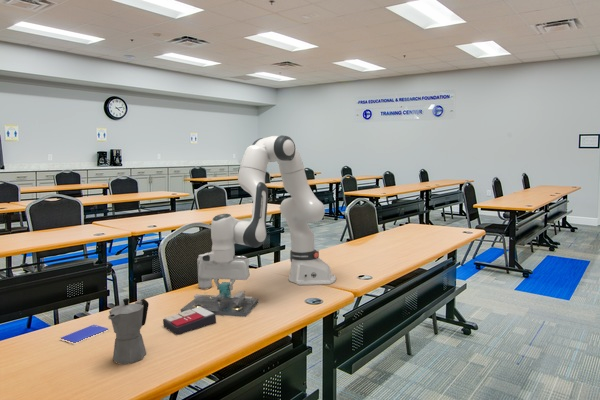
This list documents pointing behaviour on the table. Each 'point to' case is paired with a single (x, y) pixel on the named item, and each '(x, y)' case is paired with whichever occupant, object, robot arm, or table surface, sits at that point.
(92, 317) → the table surface
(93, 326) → the hard drive
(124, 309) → the coffeepot
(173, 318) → the calculator
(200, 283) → the energy drink can
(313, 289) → the table surface
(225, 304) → the hole plate
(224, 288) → the slider
